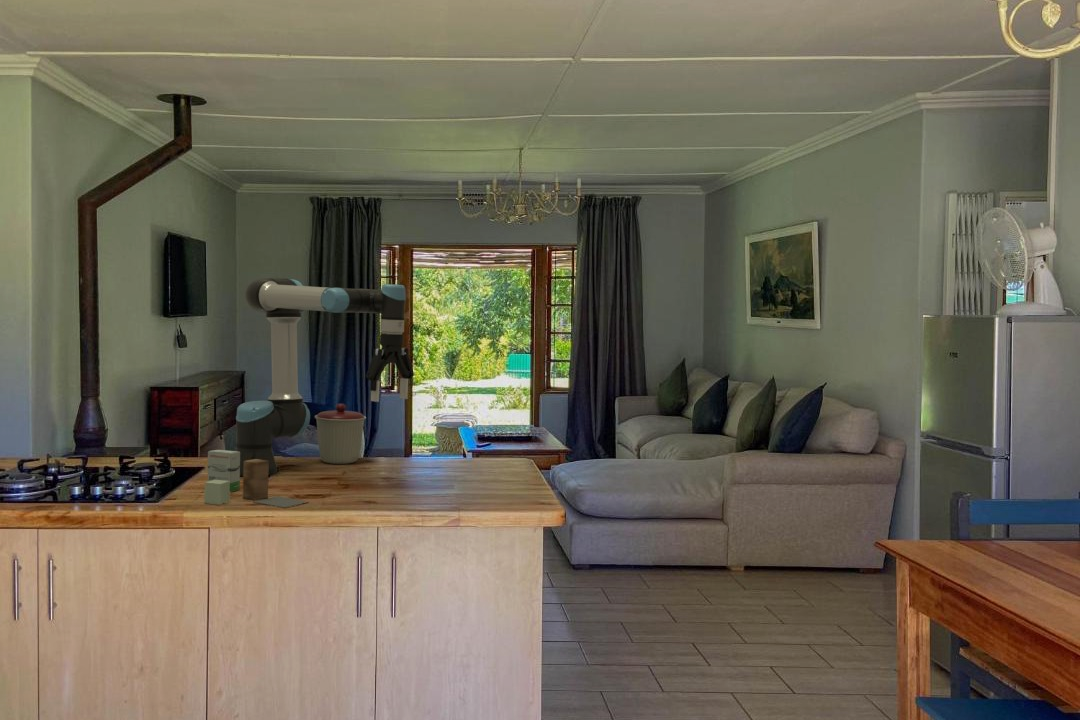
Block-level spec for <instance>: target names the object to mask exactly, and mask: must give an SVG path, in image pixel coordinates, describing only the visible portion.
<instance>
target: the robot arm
mask: <svg viewBox="0 0 1080 720" xmlns="http://www.w3.org/2000/svg"><path fill="white" fill-rule="evenodd" d="M244 298H245V301H246V303H247V305H248V307H250V308H251V309H252V310H254V311H255V312H259V313H264V314H266V315H265V318H266V320H268V321H269V323H270V335H271V336H270V341H271V344H270V347H271V348H270V349H271V391H272V392H271V394H270V395H269V396H268V398H267V400H252V401H246V402H244V403H241V404H240V405H239V404H238V406H237V409H236V416H235V421H236V422H235V427H236V429H235V432H236V434H235V450H234V451H237V452H240V477H241V476H242V477H243V468H244V461H247V460H253V459H260V460H266V461H269V472H268V476H270V475H271V476H272V475H275V474H277V472H278V465H277V463H276V459H275V455H274V451H273V439H281V438H293V437H296V436H299V435H301V434H303V433H304V432H305V431H306V430H307V429H308V427H309V425H310V422H311V421H310V420H311V412H310V409H309V408H308V405H307V404H306V403H304V402H303V396H302V395H301V394H300V393H299V384H298V383H299V382H298V381H299V378H298V367H299V366H298V322H299V321H300V320H301V319H302V312H304V311H316V312H317V311H318V312H329V313H334V314H335V313H336V314H338V313H340V314H341V313H354V314H355V313H357V314H358V313H360V314H361V313H362V314H363V313H364V314H366V313H367V314H380V323H379V324H380V325H379V331H380V332H381V333H380V334H379V344H380V346H381V348H374V349H373V355H372V358H371V361H370V363H369V367H368V368H367V372H366V374H365V378H366V379H367V380H368V381H370V402H375V403H379V402H380V384H381V382H380V380H379V379H380V376H381V375H382V373H383V372H384V370H385V368H386V367H387V365H389V364H391V363H393V364H395V366H396V368H397V369H398V371H399V374H400V376H401V378H400V379H399V380H400V381H399V399H403V400H408V397H409V395H408V393H409V387H410V386H409V384H410V379H413V377H414V375H415V372H414V369H413V365H412V362H411V359H410V356H409V348H407V347H403V346H404V343H405V340H404V339H405V335H404V334H403V333H405V314H406V313H405V312H406V300H407V297H406V287H405V285H403V284H391V283H390V284H389V283H388V284H387V283H383V284H382V285H381V289H371V288H369V289H368V288H347V287H346V288H344V287H325V286H324V287H323V286H321V287H320V286H308V285H304V284H302V282H300V281H298V280H297V279H292V278H277V277H275V278H273V277H259V278H256V279H255V278H254V280H252V281H250V282H249V284H248V285H247V286H246V287H245V291H244Z"/></svg>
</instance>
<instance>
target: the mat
mask: <svg viewBox="0 0 1080 720" xmlns="http://www.w3.org/2000/svg"><path fill="white" fill-rule="evenodd" d="M304 502H305V503H306V502H307V500H300V499H295V498H289V497H284V496H273V497H268V498H265V499H261V500H256V501H255V500H253V501H252V503H254V504H258V503H261V504H260V505H263V504H267V505H266V506H269V505H272V506H271V507H275V506H277V507H276V508H280V507H283V508H282V509H287V508H286V507H288V508H290V507H289V506H293V507H295V506H294V505H297V504H300V503H301V505H303V504H302V503H304ZM306 504H307V503H306ZM297 506H298V505H297Z"/></svg>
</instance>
